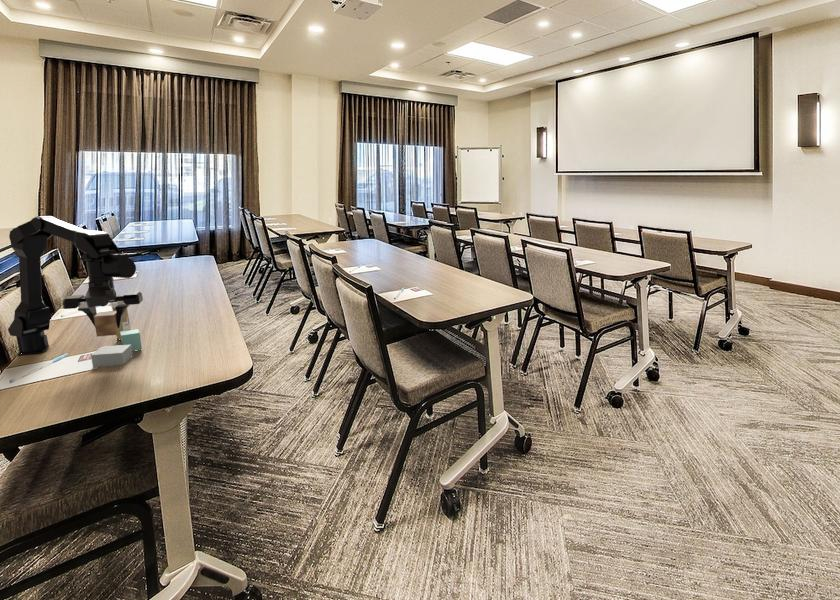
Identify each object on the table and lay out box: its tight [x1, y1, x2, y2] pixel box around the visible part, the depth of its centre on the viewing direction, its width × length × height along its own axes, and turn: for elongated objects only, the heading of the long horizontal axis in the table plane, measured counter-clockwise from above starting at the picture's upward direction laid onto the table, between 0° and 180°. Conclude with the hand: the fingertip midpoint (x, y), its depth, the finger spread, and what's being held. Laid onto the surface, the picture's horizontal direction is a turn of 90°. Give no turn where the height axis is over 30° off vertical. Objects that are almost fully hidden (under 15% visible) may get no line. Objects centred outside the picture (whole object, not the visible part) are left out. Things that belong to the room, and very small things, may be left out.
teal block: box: [120, 328, 143, 351], centre depth 150 cm, size 5×5×6 cm
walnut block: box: [94, 310, 121, 337], centre depth 138 cm, size 5×5×6 cm
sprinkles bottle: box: [110, 302, 131, 340], centre depth 160 cm, size 5×5×13 cm
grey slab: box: [90, 344, 134, 368], centre depth 140 cm, size 8×8×4 cm
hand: (108, 328), depth 138 cm, fingers closed on walnut block, 5 cm apart
